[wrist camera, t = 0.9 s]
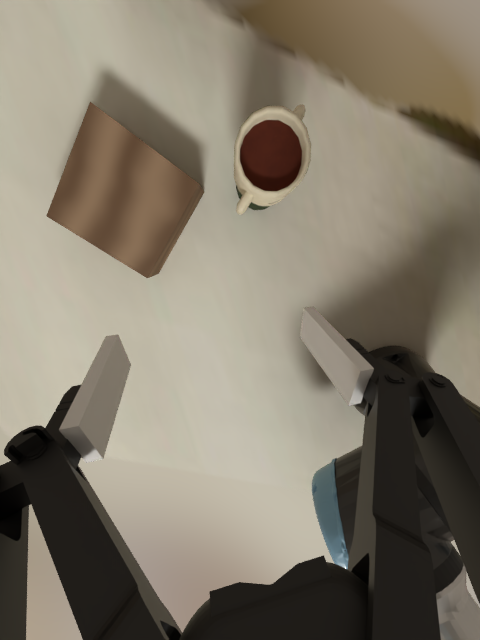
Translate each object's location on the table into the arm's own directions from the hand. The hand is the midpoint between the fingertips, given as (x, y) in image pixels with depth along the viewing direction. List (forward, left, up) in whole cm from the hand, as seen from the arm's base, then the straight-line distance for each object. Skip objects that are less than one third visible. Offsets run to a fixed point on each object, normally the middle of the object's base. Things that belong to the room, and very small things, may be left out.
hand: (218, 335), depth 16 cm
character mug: (+4, -14, -22) cm, 27 cm away
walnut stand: (+17, -2, -22) cm, 28 cm away
